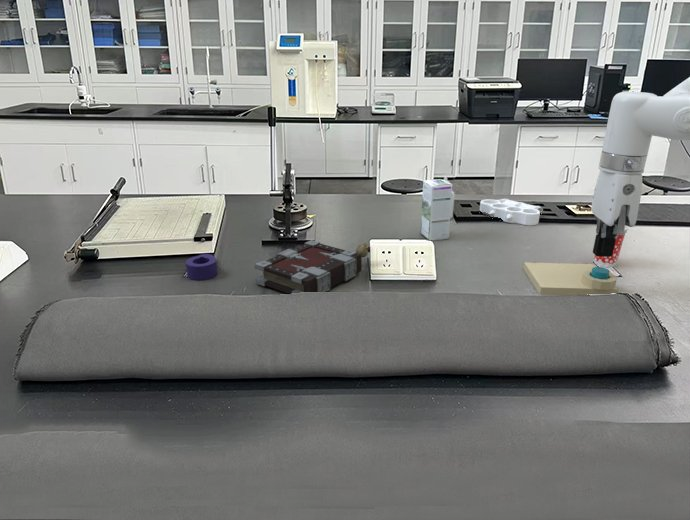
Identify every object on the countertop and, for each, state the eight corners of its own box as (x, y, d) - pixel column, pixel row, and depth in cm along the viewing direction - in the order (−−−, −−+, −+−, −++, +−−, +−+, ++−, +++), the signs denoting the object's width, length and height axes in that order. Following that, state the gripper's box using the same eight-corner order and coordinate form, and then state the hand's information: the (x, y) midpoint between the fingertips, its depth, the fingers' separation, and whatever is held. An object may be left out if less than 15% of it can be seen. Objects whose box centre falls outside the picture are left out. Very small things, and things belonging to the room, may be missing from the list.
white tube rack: (552, 218, 153) (526, 229, 143) (497, 205, 165) (470, 214, 155) (554, 206, 151) (528, 217, 142) (498, 194, 163) (471, 203, 154)
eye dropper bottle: (448, 221, 149) (452, 179, 144) (430, 218, 152) (433, 177, 147) (454, 217, 152) (458, 176, 148) (436, 214, 155) (439, 174, 151)
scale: (592, 271, 117) (595, 256, 116) (618, 298, 104) (621, 282, 103) (523, 269, 118) (525, 254, 116) (540, 296, 105) (543, 280, 104)
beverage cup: (587, 257, 124) (598, 199, 119) (615, 259, 123) (628, 201, 118) (593, 267, 119) (605, 207, 113) (622, 270, 118) (636, 209, 112)
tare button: (604, 273, 108) (605, 266, 107) (610, 280, 105) (612, 273, 104) (588, 273, 108) (589, 266, 107) (594, 280, 105) (595, 272, 104)
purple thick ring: (216, 279, 112) (215, 265, 111) (185, 281, 111) (183, 267, 110) (220, 258, 123) (218, 245, 122) (192, 259, 122) (190, 246, 121)
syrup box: (449, 239, 136) (454, 183, 130) (428, 241, 134) (432, 185, 129) (439, 232, 141) (443, 178, 135) (419, 234, 139) (422, 179, 134)
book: (255, 284, 109) (253, 261, 108) (329, 250, 128) (329, 230, 126) (309, 304, 101) (308, 280, 99) (380, 264, 120) (381, 243, 118)
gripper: (663, 172, 90) (638, 271, 97) (625, 155, 104) (606, 242, 111) (618, 171, 91) (597, 269, 98) (586, 154, 105) (569, 241, 112)
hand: (602, 254), depth 105 cm, fingers closed
